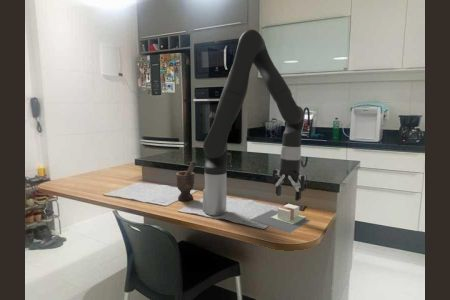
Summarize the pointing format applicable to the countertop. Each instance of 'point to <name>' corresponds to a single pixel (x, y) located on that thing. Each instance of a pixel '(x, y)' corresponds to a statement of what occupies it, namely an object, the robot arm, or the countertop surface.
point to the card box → (288, 212)
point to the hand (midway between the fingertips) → (287, 197)
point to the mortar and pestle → (186, 182)
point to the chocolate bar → (301, 207)
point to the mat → (280, 221)
